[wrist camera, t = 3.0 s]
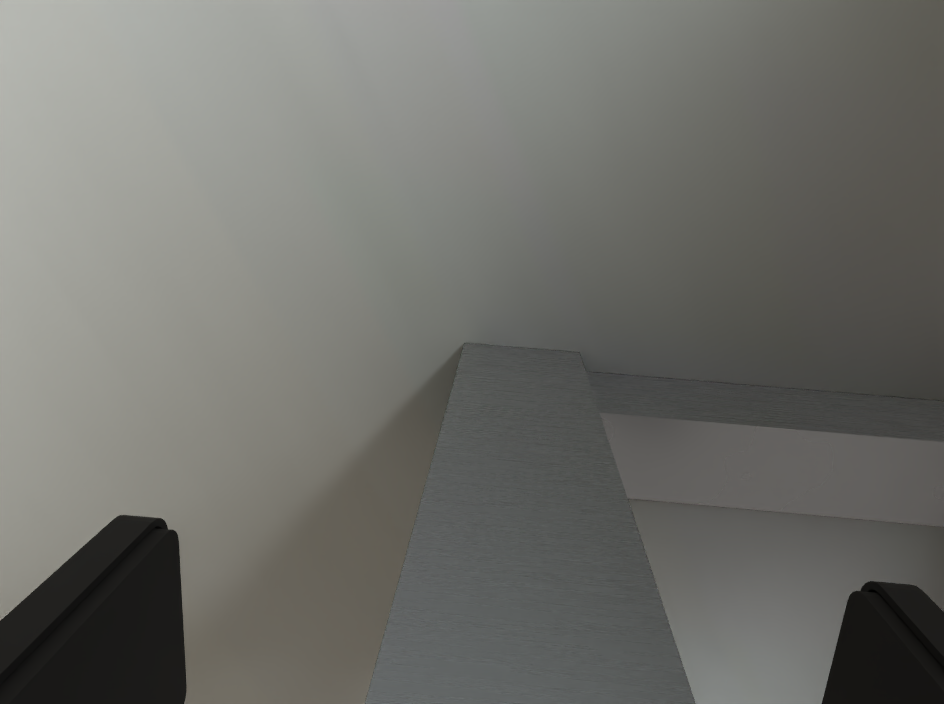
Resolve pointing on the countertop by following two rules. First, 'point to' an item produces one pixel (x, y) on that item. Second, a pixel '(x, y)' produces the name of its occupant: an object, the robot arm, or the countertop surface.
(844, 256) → the countertop surface
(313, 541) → the countertop surface
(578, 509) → the grey angled piece
